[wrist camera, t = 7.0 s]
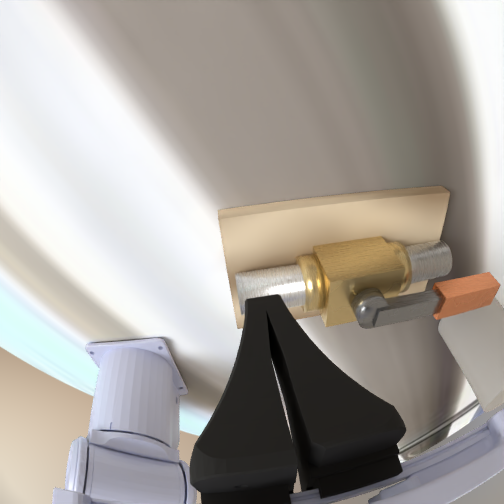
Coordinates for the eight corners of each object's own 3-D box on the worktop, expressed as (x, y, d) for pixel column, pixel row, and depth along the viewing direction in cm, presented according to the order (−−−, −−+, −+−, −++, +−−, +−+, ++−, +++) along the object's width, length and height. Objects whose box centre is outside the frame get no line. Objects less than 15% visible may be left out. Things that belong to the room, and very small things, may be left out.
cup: (454, 340, 35) (494, 411, 25) (427, 328, 32) (474, 412, 22) (496, 297, 31) (545, 365, 22) (476, 277, 28) (537, 357, 19)
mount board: (418, 283, 27) (424, 292, 26) (236, 318, 26) (237, 328, 25) (441, 185, 21) (450, 192, 20) (217, 210, 20) (218, 219, 19)
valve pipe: (424, 263, 25) (450, 296, 21) (238, 296, 24) (245, 341, 20) (435, 223, 22) (465, 255, 19) (232, 253, 22) (237, 297, 18)
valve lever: (348, 315, 20) (358, 338, 18) (354, 290, 19) (366, 313, 17) (476, 289, 21) (489, 305, 19) (486, 267, 20) (501, 283, 18)
